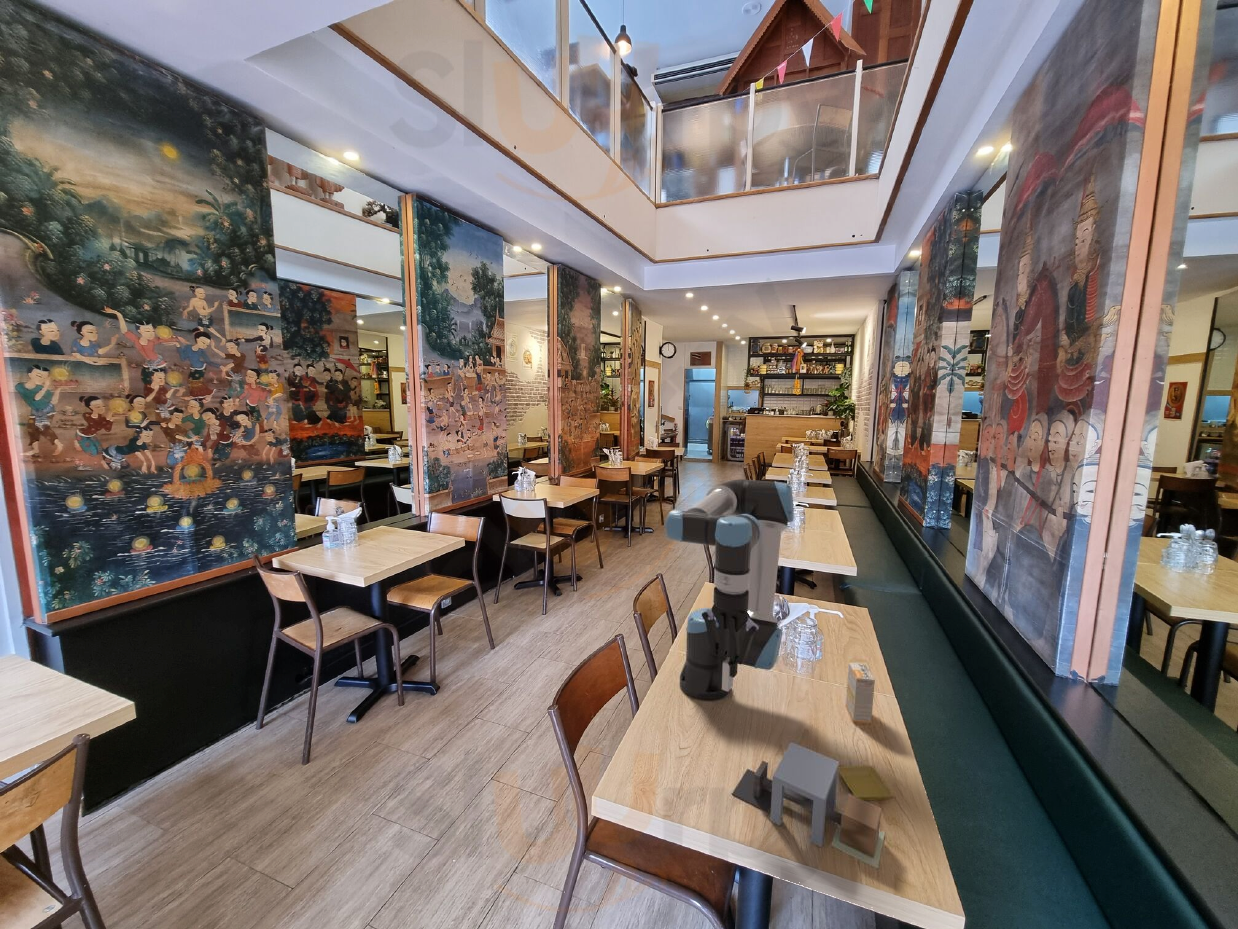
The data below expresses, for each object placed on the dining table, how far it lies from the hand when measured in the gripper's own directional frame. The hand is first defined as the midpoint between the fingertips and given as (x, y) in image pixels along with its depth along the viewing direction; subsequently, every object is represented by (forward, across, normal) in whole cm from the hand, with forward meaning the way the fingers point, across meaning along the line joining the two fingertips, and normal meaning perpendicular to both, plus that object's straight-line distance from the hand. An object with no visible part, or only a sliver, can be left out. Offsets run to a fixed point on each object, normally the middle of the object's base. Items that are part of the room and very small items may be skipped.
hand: (727, 687), depth 110 cm
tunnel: (+21, +18, 0) cm, 28 cm away
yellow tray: (+22, +27, +15) cm, 38 cm away
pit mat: (+21, +8, 0) cm, 23 cm away
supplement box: (+22, +21, +42) cm, 51 cm away
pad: (+21, +29, 0) cm, 36 cm away
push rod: (+21, +20, -1) cm, 29 cm away
